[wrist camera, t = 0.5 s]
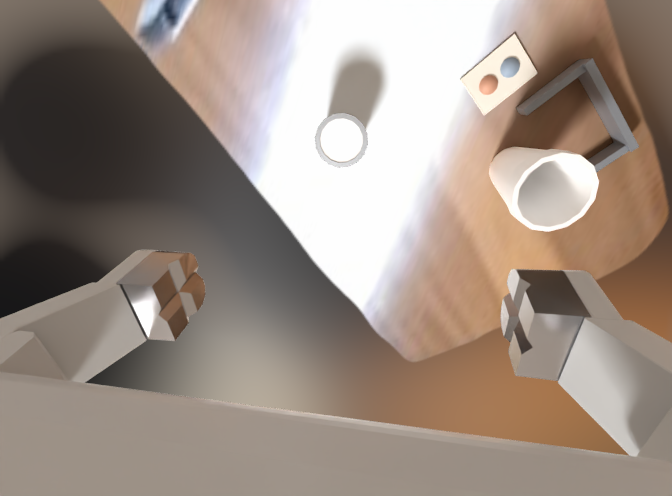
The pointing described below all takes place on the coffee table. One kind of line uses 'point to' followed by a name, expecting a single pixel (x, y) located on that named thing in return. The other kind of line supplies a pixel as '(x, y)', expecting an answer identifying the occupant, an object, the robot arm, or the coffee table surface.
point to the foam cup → (544, 185)
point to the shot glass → (341, 140)
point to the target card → (499, 75)
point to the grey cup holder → (601, 102)
